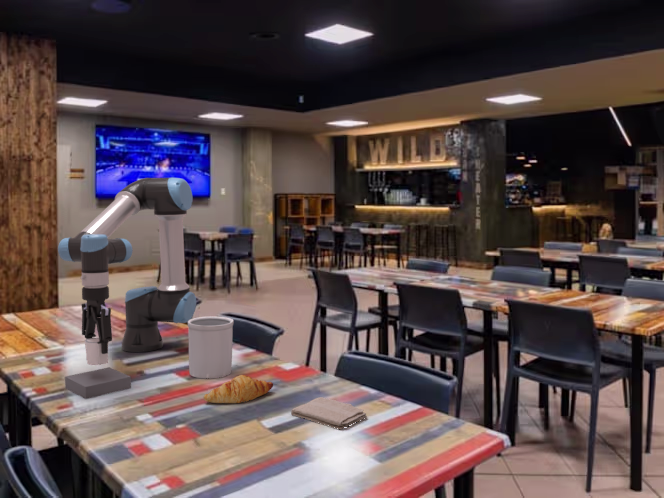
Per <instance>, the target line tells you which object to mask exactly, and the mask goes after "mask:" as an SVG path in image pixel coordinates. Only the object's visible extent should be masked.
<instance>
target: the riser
mask: <svg viewBox="0 0 664 498" xmlns="http://www.w3.org/2000/svg"><path fill="white" fill-rule="evenodd" d="M64 389H66V390H68V391H70V392H72V393H73V394H76V395H77V396H80V397H81V398H82V399H85V400H87V399H92V398H96V397H101V396H105V395H108V394H111V393H112V394H113V393H116V392H121V391H124V390H129V389H132V377H131V376H130V375H128V374H126V373H123V372H121V371H118V369H117V370H116V369H114V368H112V367H103V368H99V369H94V370H90V371H84V372H79V373H76V374H70V375H65V376H64Z"/></svg>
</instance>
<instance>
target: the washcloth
mask: <svg viewBox="0 0 664 498" xmlns="http://www.w3.org/2000/svg"><path fill="white" fill-rule="evenodd" d="M290 414H291V415H292V416H293V415H294V416H293V417H296V416H297V418H300V417H301V418H300V419H303V418H305V419H304V420H306V419H307V420H306V421H309V420H311V421H310V422H312V421H315V422H314V423H316V422H319V423H318V424H320V423H321V424H320V425H322V424H325V425H324V426H326V425H329V426H331V427H330V428H332V427H335V428H338V429H342V430H344V429H343V428H344V427H348V426H349V425H351V424H353V423H355V422H358V421H360V420H362V419H364V418H366V419H367V417H368V416H367V413H365V412H364V409H361V408H359V407H355V406H354V405H352V404H351V403H347V402H346V403H345V402H341V401H339V400H335V399H329V398H327V397H322V396H321V397H320V396H319V397H316V398H314V399H311V400H310V401H308V402H306V403H304V404H303V403H302V404H301V405H298V406H297V407H294V408H292V409H291V411H290ZM364 420H365V419H364ZM362 421H363V420H362ZM360 422H361V421H360ZM358 423H359V422H358ZM329 426H328V427H329ZM335 428H334V429H335ZM348 428H349V427H348ZM338 429H337V430H338Z"/></svg>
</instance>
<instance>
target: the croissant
mask: <svg viewBox="0 0 664 498" xmlns="http://www.w3.org/2000/svg"><path fill="white" fill-rule="evenodd" d="M273 387H274V383H273V382H271V381H266V380H258V379H257V378H252V377H251V376H249V375H247V374H246V375H245V374H239V375H237V376H234V377H233V378H232V379H231V380H229V381H225V382H224V383H222V384H221V385H219V387H216V388H213V389H212V390H210V392H209V393H206V394H203V395H204V396H203V400H204V402H205V401H206V402H207V403H213V404H241V403H246V402H249V400H250V401H253V400H255V399H257V398H259V397H261V396H263V395H266V394H267V393H269V392H270V391H271V390H272V389H273ZM245 401H246V402H245Z"/></svg>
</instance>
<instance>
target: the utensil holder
mask: <svg viewBox="0 0 664 498" xmlns="http://www.w3.org/2000/svg"><path fill="white" fill-rule="evenodd" d="M234 323H235V322H234V319H233V318H231V317H226V316H216V315H215V316H212V315H211V316H210V315H209V316H200V317H199V316H198V317H195V318H193V317H192V318H191V319H190V320H189V321H188V322H187V327H188V369H189V375H190V376H192V377H193V378H197V379H206V378H207V379H208V378H209V379H218V378H219V377H220V378H223V376H224V377H226V375H227V376H229V375H230V374H231V373H232V368H233V367H232V365H233V363H232V362H233V332H234V331H233V329H234V328H233V326H234ZM220 378H219V379H220Z"/></svg>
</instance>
